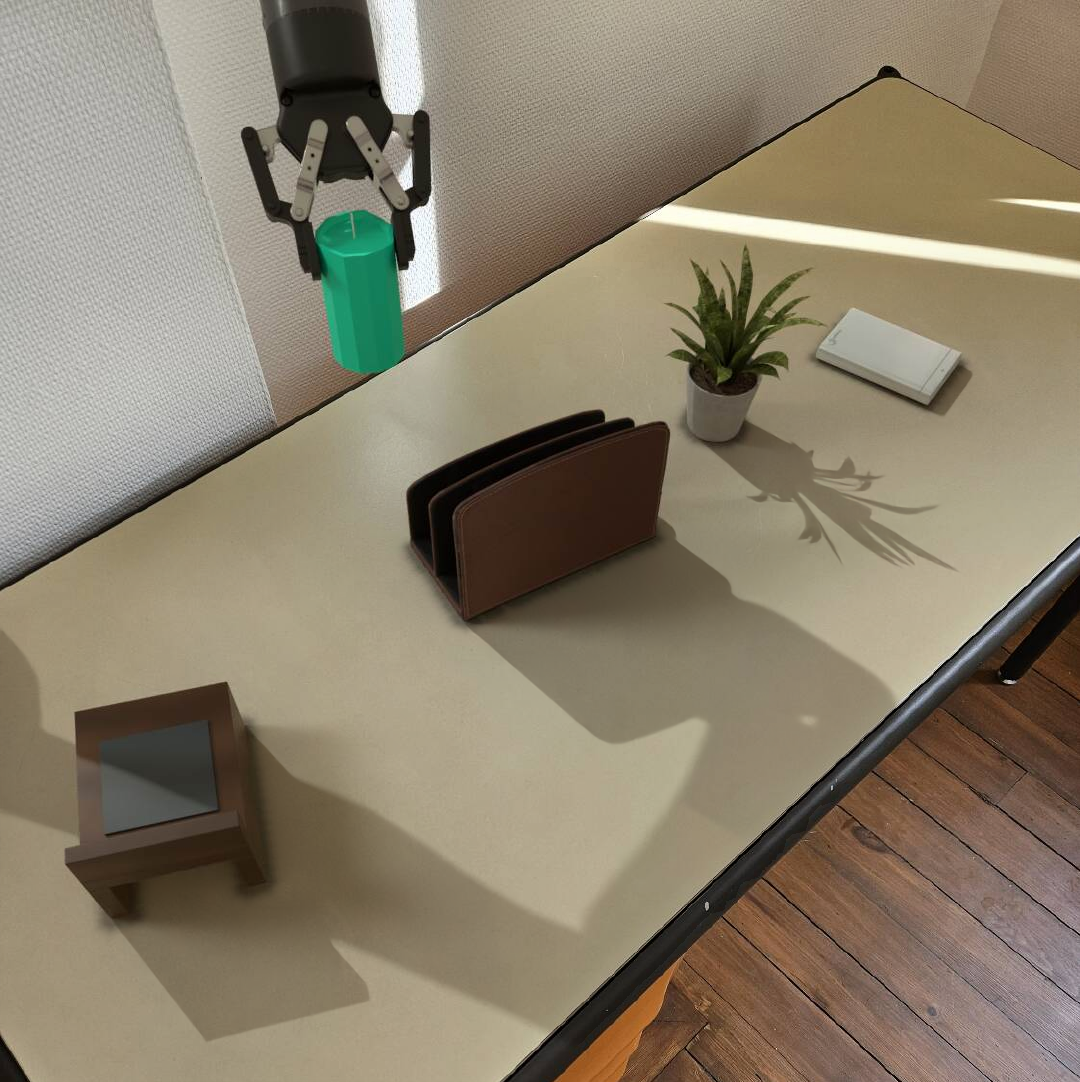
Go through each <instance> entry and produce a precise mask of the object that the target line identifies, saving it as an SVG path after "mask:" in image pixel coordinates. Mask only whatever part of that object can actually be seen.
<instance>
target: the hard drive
mask: <svg viewBox="0 0 1080 1082" xmlns="http://www.w3.org/2000/svg"><path fill="white" fill-rule="evenodd" d="M815 353H816V354H815V357H814V358H816V359H819V360H821V361H823V362H825V363H827V364H830V365H833V366H835V367H837V368H839V369H841V370H844V371H846V372H848V373H851V374H853V375H855V376H858V377H860V378H863V379H865V380H868V381H870V382H872V383H874V384H877V385H879V386H881V387H884V388H887V389H888V390H890V391H893V392H895V393H898V394H900V395H902V396H904V397H908V398H909V399H912V400H914V401H916V402H919V403H921V404H924V405H926V406H928V405H929V404H930V403H931V401H932V400H933V399H934V397H936V395H937V393H938V392H939V391H940V390H941V388H942V386H943V385H944V384H945V382H946V381H947V380H948V378H949V377H950V375H951V374H952V373H953V371H955V369H956V368H957V366H958V364H959V363H960V361H961V359H962V356H963V352H961V351H959V350H956V349H954V348H951V347H949V346H948V345H944V344H942V343H939V342H938V341H934V340H933V339H930V338H928V337H925V336H923V335H920V334H918V333H916V332H913V331H911V330H909V329H906V328H904V327H901V326H899V325H897V324H894V323H892V322H889V321H886V320H884V319H882V318H880V317H877V316H875V315H874V314H873V315H872V314H870V313H868V312H866V311H863V310H861V309H858V308H855V307H851V308H850V309H849V310H848V311H847V313H846V314H845V315H844V316H843V318H842V319H840V321H838V323H837V325H836V326H835V327H834V328H833V329H832V330H831V332H829V334H828V335H827V336H826V337H825V339H824V340H823V341H822V342H821V344H820V345H819V346H818V348H817V351H816V352H815Z"/></svg>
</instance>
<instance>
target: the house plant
mask: <svg viewBox="0 0 1080 1082" xmlns="http://www.w3.org/2000/svg"><path fill="white" fill-rule="evenodd" d="M741 259H742V260H741V272H740V282H739V288H738V290H737V285H736V282H735V279H734V278H733V276H732V274H731V271H729V268H728V267H727V265H726V264H725V263H724V262H723V261H722V260H721V259H719V262H720V263H721V266H722V268H723V270H724V273H725V275H726V278H727V280H728V283H729V286H730V295H731V296H730V297H731V298H730V299H731V313H730V311H729V310H728V308H727V301H726V292H725V289H724V286H722V287H721V290H720V292H719V296H718V295H717V292H716V289H715V286H714V284H713V283H712V281H711V280H710V272H709V268H708V267H706V271H705V272H704V271H703V269H702V267H701V266H700V265H699V264H698V263H696V262H695V261H694V260H693V259H691V257H690V259H689V260H690V263H691V265H692V268H693V271H694V273H695V276H696V279H697V282H698V285H699V289H700V290H699V294H698V297H697V305H693V306H691V307H692V310H693V311H694V312H695V313H696V314H697V316H698V320H699V321H698V320H697V318H696V317H695V316H694V315H693V314H692V313H691V312H690V311H688V309H686V308H684V307H682V306H680V305H678V304H676V303H673V302H663V304H664V305H666V306H669V307H671V308H674V309H676V310H677V311H679V312H681V313H682V314H683V315H685V316H686V317H687V318H689V319H690V321H692V322H693V324H694V325H695V326H696V327H697V328H698V329H699V330H700V332H701V333H702V336H703V339H704V347H703V346H702V345H701V344H699V343H698V342H697V341H695V340H694V339H693V338H691V337H690V336H689V335H687V334H686V333H684V332H682V331H681V330H678V329H675V328H673V327H670V326H669V327H667V328H669V329H670V330H671V331H672V333H674V334H675V335H676V336H678V337H679V338H680V339H681V341H682V342H683V343H684V344H685V346H686V347H687V348H689V350H691V351H692V352H694V353H695V354H693V353H692V352H690V351H689V350H686V349H683V348H681V349H679V348H678V349H675V350H673V351H671V352H669V353H667V354H665V357H667V356H668V357H670V358H674V359H675V360H679V361H682V362H686V363H687V364H686V366H685V367H686V370H685V374H686V375H685V376H686V377H685V378H686V379H685V380H686V417H687V418H686V420H687V422H686V423H687V427H688V429H689V431H690V432H691V433H692V434H693V435H694V436H695V437H697V438H698V439H701V440H702V441H707V442H715V443H716V442H717V443H719V442H726V441H731V440H732V439H733V438H735V437H736V436H737V434H739V432H740V430H741V426H742V425H743V423H744V421H745V419H746V416H747V414H748V412H749V410H750V407H751V405H752V403H753V401H754V398H755V397H756V394H757V391H758V390H759V387H760V385H761V382H762V380H763V376H771V377H774V378H777V379H778V380H780V382H781V381H782V380H781V378H780V375H779V373H778V369H777V368H776V367H774V366H778V367H783V368H784V369H785V370H787V371H786V372H789V357H788V356H787V354H786V353H785V352H784V351H780V350H773V351H767V352H764V353H762V354H760V355H758V356H757V357H755V358H753V356H754V355H755V353H756V351H757V350H758V348H759V347H760V345H761V344H762V343H763V342H764V341H766V340H771V339H774V338H775V336H773V337H770V336H771V335H773V334H775V333H776V332H778V331H781V330H783V329H784V328H789V327H793V326H798V325H813V326H817V327H827V328H829V326H828V325H827V324H824V323H823V322H821V321H818V320H816V319H812V318H809V317H794V316H795V315H796V314H797V312H792V313H788V312H790V311H791V310H792V309H793V308H794V307H796V306H797V305H798V304H799V303H801V302H803V301H805V300H808V299H809V298H810V297H811V295H807V296H806V295H805V296H801V297H798V298H797V297H796V298H794V299H793V300H791V301H789V302H787V303H786V304H785V305H784V306H783V307H782V308H780V309H779V310H778V311H776V310H775V308H774V307H772V306H773V304H774V303H775V302H777V300H778V299H779V298H780V297H781V296H782V295H783V294H784V293H785V292H786V291H787V290H789V288H791V287H792V285H793V284H795V282H796V281H797V280H798V279H800V278H801V277H803V276H804V275H806V274H809V272H811V271H812V270H813V269H814V267H810V268H805V269H802V270H799V271H797V272H794V273H792V274H790V275H788V276H786V277H785V278H783V279H782V280H781V281H780V282H778V283H777V284H776V285H775V286H774V287H773V288H772V289H770V290H769V292H767V294H766V295H765V296H764V297H763V298H762V299H761V301H760V302H759V303H758V304H759V305H758V306H757V308H756V310H755V311H754V313H753V315H752V316H751V318H750V319H749V321H748V323H747V317H748V316H747V315H748V310H749V307H750V302H751V296H752V290H753V281H754V270H753V266H752V262H751V256H750V250H749V248H748V246H747V243H744V246H743V250H742V257H741ZM767 311H769V312H771V313H774V315H773V316H772V317H770V316H768V315H765V314H766V313H767ZM792 317H793V318H792ZM755 337H756V338H755ZM754 338H755V339H754ZM753 339H754V341H752V340H753Z"/></svg>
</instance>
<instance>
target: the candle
mask: <svg viewBox="0 0 1080 1082" xmlns="http://www.w3.org/2000/svg"><path fill="white" fill-rule="evenodd" d="M314 237H315V243H316V248H317V254H318V259H319V265H320V270H321V276H322V280H320V281H321V283H320V284H321V288H322V293H323V300H324V305H325V306H324V307H325V311H326V317H327V318H326V319H327V324H328V329H329V335H330V341H331V347H332V353H333V358H334V359H335V361H337V362H338V364H339V365H340V366H341V367H342V368H343V369H346V370H348V371H352V372H355V373H358V374H377V373H378V374H379V373H382V372H384V371H387V370H389V369H391V368H393V367H395V366H397V365H398V364H399V362H400V361H401V360H402V359H403V357H404V356H405V355H406V352H405V351H406V349H405V336H404V326H403V316H402V315H403V314H402V304H401V296H400V295H401V293H400V284H399V276H398V264H397V258H396V253H395V244H394V234H393V226H392V225H391V223H389V222H388V221H387V220H385V219H383V218H382V217H380V216H378V215H376V214H374V213H372V212H370V211H369V210H366V209H355V210H345V211H341V212H339V213H336V214H334V215H331V216H329V217H326V218H325V219H324V220H323V221H322V222H321V223H320V225H319V226H318V227H317V228H316V230H315V231H314Z"/></svg>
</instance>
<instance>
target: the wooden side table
mask: <svg viewBox="0 0 1080 1082" xmlns="http://www.w3.org/2000/svg"><path fill="white" fill-rule="evenodd" d="M73 713H74V714H73V715H74V737H75V760H76V761H75V762H76V787H77V788H76V791H77V813H78V814H77V815H78V839H79V840H78V841H79V844H77V845H73V846H69V847H64V850H63V851H64V865H65V867H66V868H67V869H68V870H69V871H70V873H71V874H72V875H73V876H74V877H75V878H76V879H77V881H78V882H79V883H80V884H81V886H82V887H83V888H84V889H85V891H87V893H89V895H90V896H91V897H92V898H93V900H94V901H95V902H96V903H97V904H98V906H99V907H100V908H101V909H102V910H103V912H104V913H105V914H106V915H107V917H109V919H113V918H118V917H122V916H127V915H131V904H130V887H129V884H131V883H135V882H139V881H144V880H149V879H153V878H157V877H162V876H165V875H171V874H175V873H180V872H184V871H188V870H189V871H190V870H194V869H198V868H201V867H206V866H209V865H215V864H219V863H225V862H228V861H232V860H233V862H234V864H235V866H236V867H237V869H238V871H239V874H240V875H241V877H242V880H243V881H244V883H245V885H246V886H247V887H253V886H256V885H260V884H265V883H267V875H266V869H265V859H264V854H263V853H264V852H263V846H262V839H261V833H260V825H259V819H258V811H257V804H256V797H255V790H254V783H253V776H252V769H251V760H250V755H249V748H248V740H247V731H246V726H245V722H244V720H243V717H242V715H241V713H240V710H239V707H238V705H237V702H236V700H235V697H234V695H233V693H232V689H231V687H230V685H229V681H228V680H227V681H222V682H216V683H212V684H208V685H207V684H206V685H201V686H197V687H192V688H186V689H182V690H177V691H171V692H166V693H162V694H156V695H151V696H147V697H141V698H137V699H136V698H135V699H132V700H128V701H121V702H117V703H112V704H106V705H101V706H97V707H96V706H95V707H91V708H87V709H82V710H81V709H80V710H77V711H74V712H73Z"/></svg>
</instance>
